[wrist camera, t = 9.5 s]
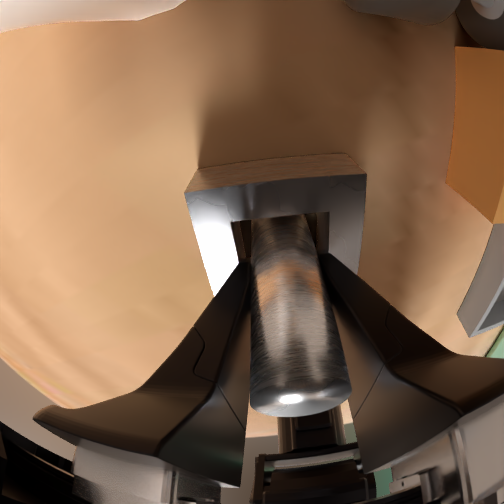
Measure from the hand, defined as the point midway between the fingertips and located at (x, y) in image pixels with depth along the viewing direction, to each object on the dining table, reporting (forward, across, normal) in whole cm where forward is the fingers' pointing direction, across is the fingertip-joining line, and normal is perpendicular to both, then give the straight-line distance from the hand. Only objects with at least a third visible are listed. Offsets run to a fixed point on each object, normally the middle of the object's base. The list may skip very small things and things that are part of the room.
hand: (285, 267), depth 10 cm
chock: (+3, -11, -5) cm, 12 cm away
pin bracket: (+3, 0, 0) cm, 3 cm away
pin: (+3, 0, 0) cm, 3 cm away
